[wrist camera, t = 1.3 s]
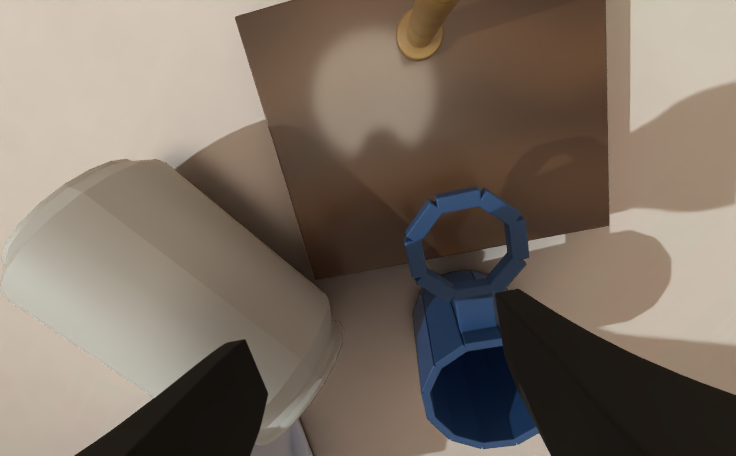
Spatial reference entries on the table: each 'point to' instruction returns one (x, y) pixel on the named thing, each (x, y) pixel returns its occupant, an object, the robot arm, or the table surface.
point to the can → (168, 286)
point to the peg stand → (432, 119)
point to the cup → (467, 332)
